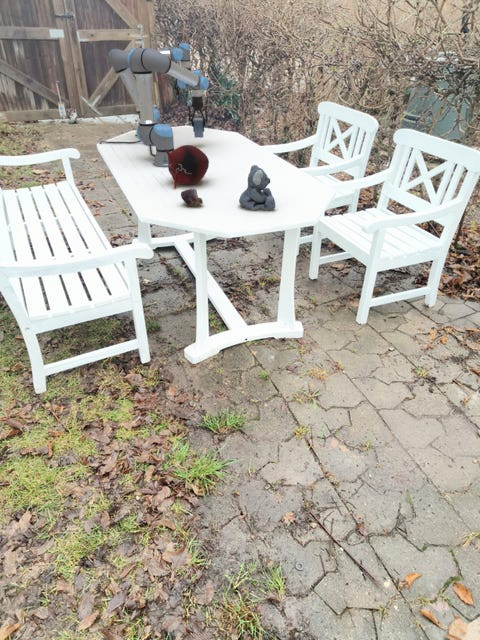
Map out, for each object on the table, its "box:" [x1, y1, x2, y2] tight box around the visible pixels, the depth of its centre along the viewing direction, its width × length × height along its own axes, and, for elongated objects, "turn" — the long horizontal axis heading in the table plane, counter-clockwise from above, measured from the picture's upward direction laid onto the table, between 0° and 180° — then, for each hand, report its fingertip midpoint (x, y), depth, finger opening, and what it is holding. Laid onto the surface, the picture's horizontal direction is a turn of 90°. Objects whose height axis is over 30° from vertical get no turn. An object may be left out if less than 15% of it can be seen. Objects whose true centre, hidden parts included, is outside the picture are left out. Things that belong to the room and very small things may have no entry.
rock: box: [180, 188, 204, 207], centre depth 229 cm, size 12×9×10 cm
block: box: [193, 117, 204, 139], centre depth 324 cm, size 9×6×12 cm
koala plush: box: [238, 164, 276, 211], centre depth 224 cm, size 17×18×20 cm
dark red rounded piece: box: [165, 144, 210, 189], centre depth 257 cm, size 21×24×25 cm
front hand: (198, 131), depth 325 cm, fingers closed on block, 6 cm apart
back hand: (187, 99), depth 346 cm, fingers open, 13 cm apart
